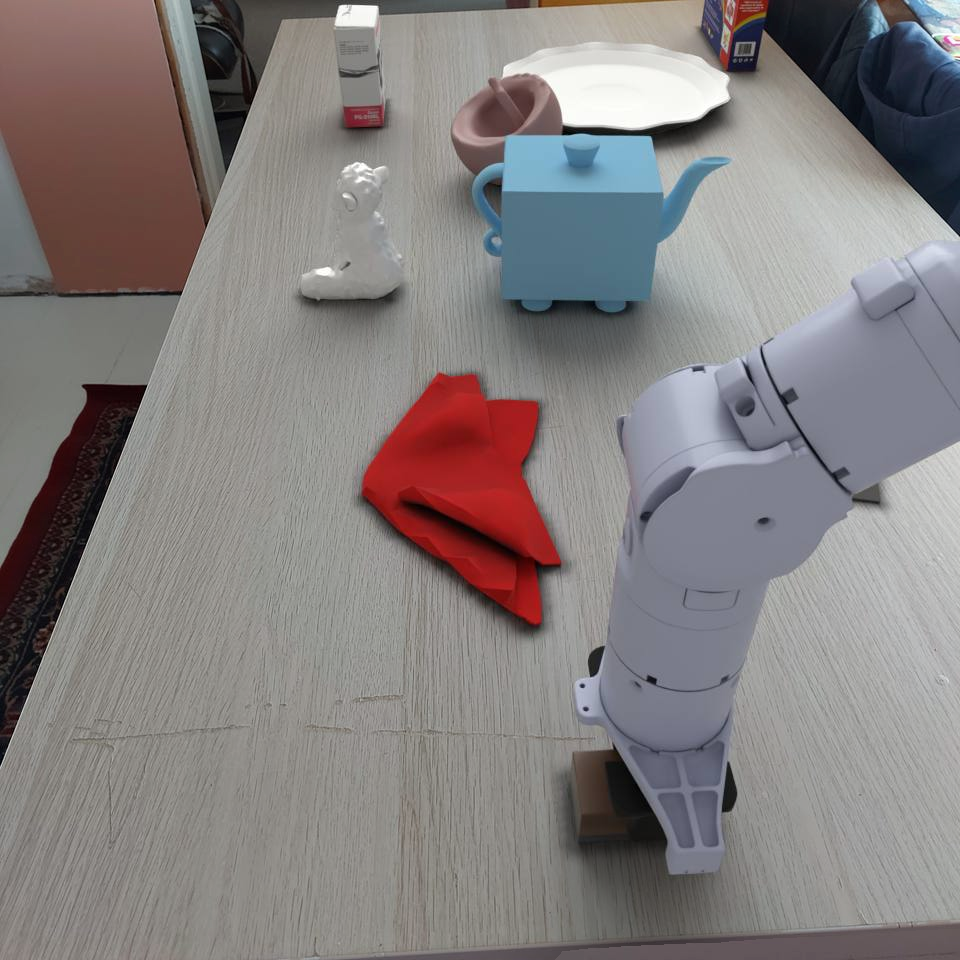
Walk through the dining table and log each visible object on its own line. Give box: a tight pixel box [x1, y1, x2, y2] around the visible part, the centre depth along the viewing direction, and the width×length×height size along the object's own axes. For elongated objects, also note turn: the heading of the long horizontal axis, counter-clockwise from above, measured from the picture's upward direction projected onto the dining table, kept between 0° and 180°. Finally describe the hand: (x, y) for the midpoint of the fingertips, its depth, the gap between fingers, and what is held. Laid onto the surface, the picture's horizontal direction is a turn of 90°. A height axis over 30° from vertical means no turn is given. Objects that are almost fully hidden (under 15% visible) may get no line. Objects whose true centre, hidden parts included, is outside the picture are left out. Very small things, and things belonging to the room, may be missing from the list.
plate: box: [500, 41, 731, 136], centre depth 117 cm, size 29×29×2 cm
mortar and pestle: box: [450, 73, 563, 186], centre depth 98 cm, size 12×12×11 cm
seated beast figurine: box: [299, 161, 405, 301], centre depth 82 cm, size 10×9×12 cm
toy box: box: [700, 0, 770, 72], centre depth 127 cm, size 18×4×12 cm, turn 1°
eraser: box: [569, 748, 631, 843], centre depth 47 cm, size 7×4×3 cm, turn 93°
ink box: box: [333, 4, 387, 129], centre depth 112 cm, size 8×5×12 cm, turn 2°
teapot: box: [471, 133, 733, 313], centre depth 81 cm, size 22×11×14 cm, turn 87°
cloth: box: [361, 371, 563, 627], centre depth 65 cm, size 26×14×2 cm, turn 1°
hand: (642, 793), depth 47 cm, fingers open, 4 cm apart
